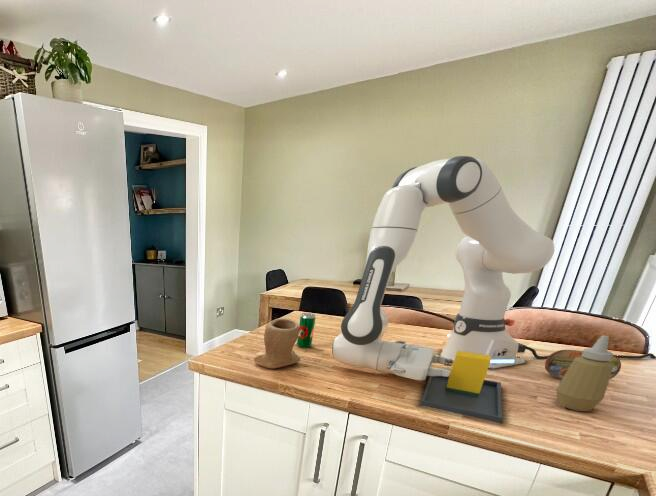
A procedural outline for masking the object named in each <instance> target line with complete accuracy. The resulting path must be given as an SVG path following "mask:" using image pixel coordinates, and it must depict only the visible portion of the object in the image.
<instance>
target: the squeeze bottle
mask: <svg viewBox="0 0 656 496" xmlns="http://www.w3.org/2000/svg"><path fill="white" fill-rule="evenodd" d="M609 339H610V336H609V335H601V336H599V338H598V339H597V341H596V342H595V343H594V344H593V345H592V347H590V348H588V347H587V348H584V349H583V350H582V351H583V353H582V355H581V357H577V358H575V359H574V360H573V362H572V364H571V365H570V367H569V369H568V370H567V372H566V374H565V375H564V377H563V379H560V382H559V384H558V386H557V387H556V390H555V391H556V403H558V405H561V406H563V407H564V408H566V409H569V410H573V411H578V412H590V411H592V410H593V409H594V408H595V407H596V406H597V405H599V403H601V402H602V401H603V400H604V398H605V395H606V392H607V389H608V385H609V382H610V380H611V379H610V376H611V373H612V369H613V366H614V365H613V364H612V363H611V362H610V361H609V360H610V359H611V357H612V355H614V353H613V352H612V351H609V350H608V348H609ZM609 379H610V380H609Z"/></svg>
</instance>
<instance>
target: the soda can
mask: <svg viewBox="0 0 656 496" xmlns="http://www.w3.org/2000/svg"><path fill="white" fill-rule="evenodd" d="M316 319H317V318H316V314H315V313H312V312H302V313H301V315H300V317H299V324H298V325H299V335H298V338H297V340H296V345H297V347H299V348H302V349H307V348H311V346H312V344H313V337H314V330H315V325H316Z"/></svg>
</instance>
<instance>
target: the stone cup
mask: <svg viewBox="0 0 656 496" xmlns="http://www.w3.org/2000/svg"><path fill="white" fill-rule="evenodd" d="M263 334H264V335H263V343H264V348H265V353H264V354H263V353H262V354H260V355H257V356H255V357H253V362H254V363H256V364H257V365H258V366H260V367H264V368H266V369H279V368H282V367H287V366H289V365H293V364H296V363H299V362H301V358H300V357H299V355H298V354H297V353H296V352H295V350H293V348H294V346H295V344H296V343H297V338H298V335H299V324H298V322H296V321H295V320H292V319H290V318H284V317H283V318H282V317H279V318H275V319H273V320H271V321H269V322H268V323H267V324H266V326H265V329H264V333H263Z"/></svg>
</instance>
